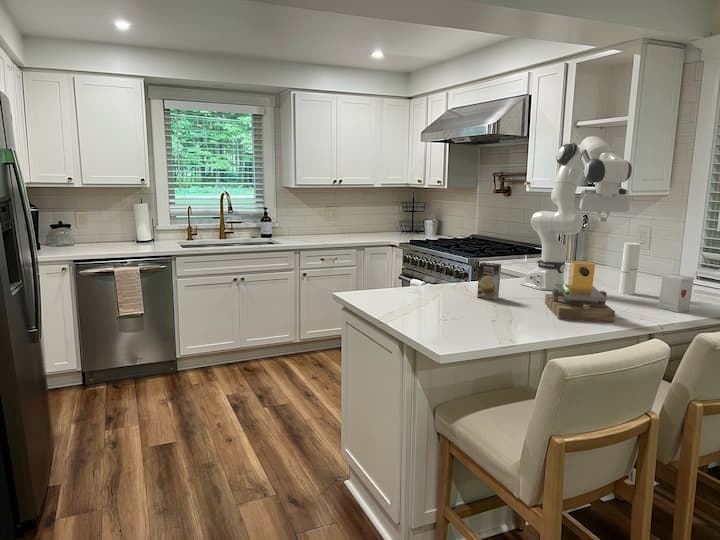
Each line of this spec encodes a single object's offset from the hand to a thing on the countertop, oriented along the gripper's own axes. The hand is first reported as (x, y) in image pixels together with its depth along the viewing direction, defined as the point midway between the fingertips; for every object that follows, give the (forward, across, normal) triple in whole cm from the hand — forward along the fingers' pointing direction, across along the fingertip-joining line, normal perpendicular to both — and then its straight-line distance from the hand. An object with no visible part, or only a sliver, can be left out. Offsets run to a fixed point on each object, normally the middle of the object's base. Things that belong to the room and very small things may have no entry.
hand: (602, 221), depth 236 cm
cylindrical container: (+37, +23, +26) cm, 51 cm away
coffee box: (+37, -48, -1) cm, 60 cm away
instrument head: (+29, -13, -20) cm, 38 cm away
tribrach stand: (+37, -13, -20) cm, 44 cm away
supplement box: (+37, +32, -4) cm, 50 cm away
